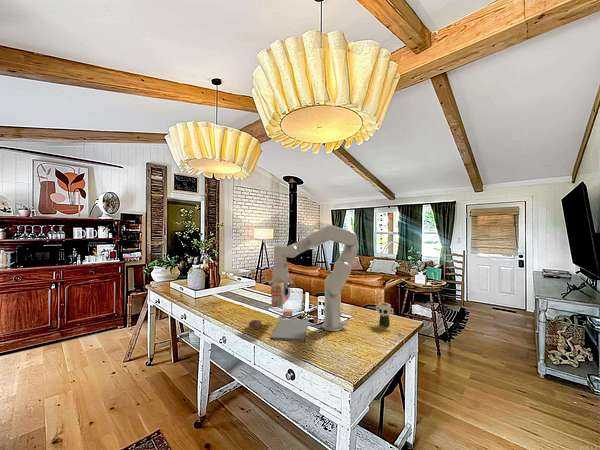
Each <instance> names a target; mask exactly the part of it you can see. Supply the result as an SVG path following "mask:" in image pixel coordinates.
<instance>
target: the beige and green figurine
mask: <svg viewBox="0 0 600 450" xmlns="http://www.w3.org/2000/svg"><path fill="white" fill-rule="evenodd" d="M375 311H377V312H378V315H380V316H379V321H378V324H379V325H380V326H383V327H389V326H390V317H389V316H390V315H393V314H394V308H392V307H391V304H390V303H388V302H379V303H378V305H375Z"/></svg>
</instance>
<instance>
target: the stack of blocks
mask: <svg viewBox="0 0 600 450" xmlns="http://www.w3.org/2000/svg"><path fill="white" fill-rule="evenodd" d="M289 284H290V282H289V283H288V285H289ZM290 287H291V286H290ZM290 287H289V288H288V294H287V295H286V293H285V289H286V286H285V283H280V282H275V283H274V284H273V283H272V285H270V288H271V290H270V293H271V294H270V295H271V307H283V306H284V305H285V304H286V302H287V301H288V300H289V299H290V297H291V288H290Z"/></svg>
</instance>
